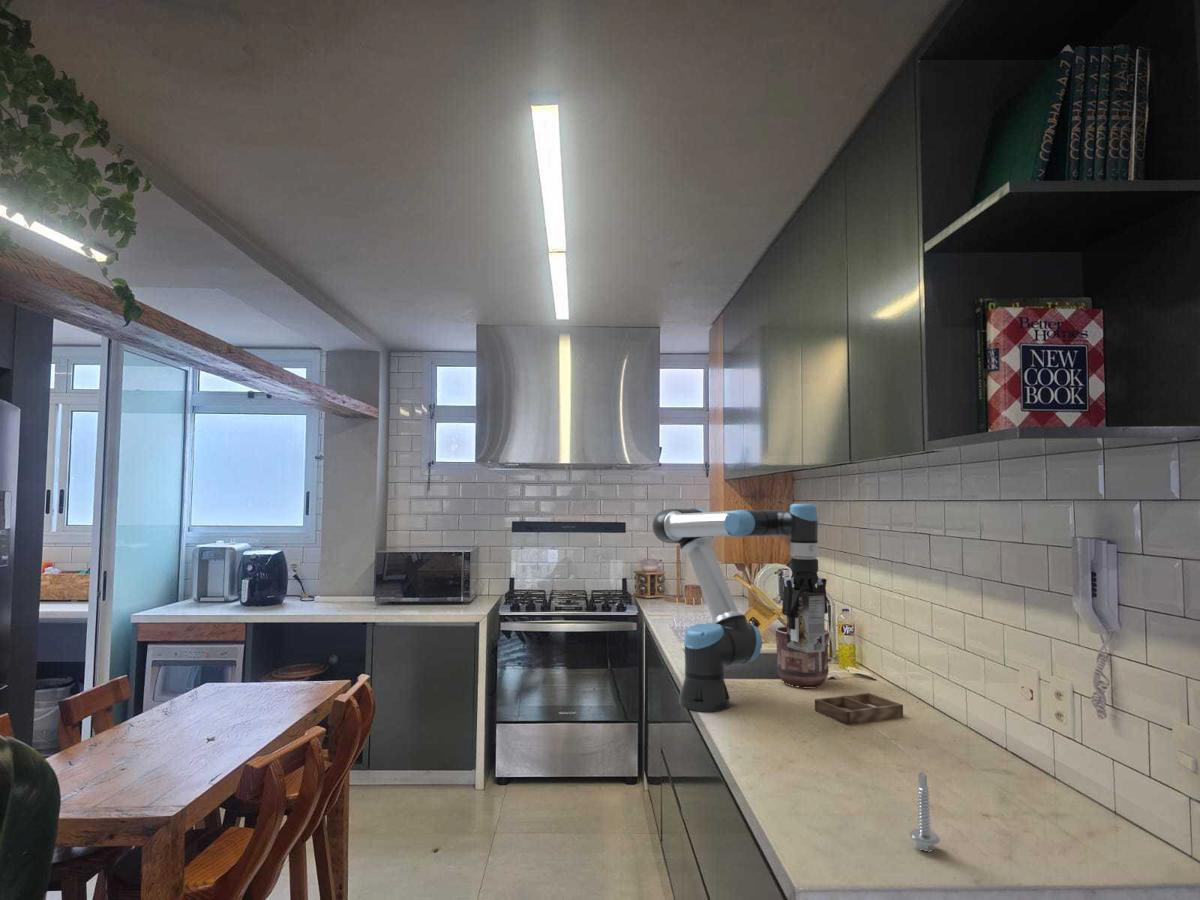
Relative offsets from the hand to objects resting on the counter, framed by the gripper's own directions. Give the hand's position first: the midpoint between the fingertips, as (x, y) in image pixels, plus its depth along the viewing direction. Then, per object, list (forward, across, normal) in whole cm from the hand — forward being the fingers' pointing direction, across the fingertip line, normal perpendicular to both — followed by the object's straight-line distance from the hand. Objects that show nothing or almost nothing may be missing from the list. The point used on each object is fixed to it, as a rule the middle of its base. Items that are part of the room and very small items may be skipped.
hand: (805, 639), depth 193 cm
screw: (+22, -27, -66) cm, 75 cm away
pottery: (+23, +25, +34) cm, 48 cm away
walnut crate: (+22, +18, 0) cm, 29 cm away
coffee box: (+3, 0, 0) cm, 3 cm away
